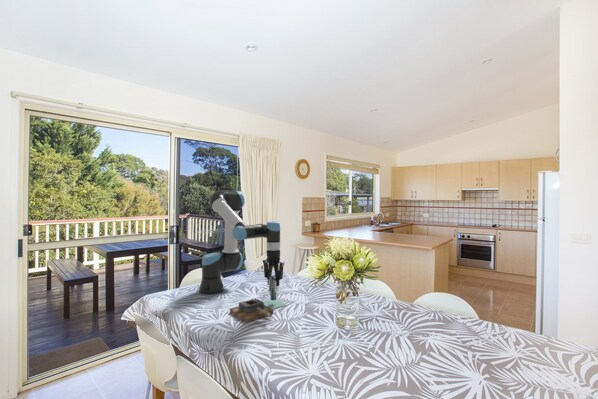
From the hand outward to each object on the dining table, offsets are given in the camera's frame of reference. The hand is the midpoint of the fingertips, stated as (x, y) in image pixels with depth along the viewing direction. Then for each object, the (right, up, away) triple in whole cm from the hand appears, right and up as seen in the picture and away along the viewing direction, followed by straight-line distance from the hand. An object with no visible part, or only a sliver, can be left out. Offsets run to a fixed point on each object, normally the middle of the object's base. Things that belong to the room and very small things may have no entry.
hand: (273, 291), depth 166 cm
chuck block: (-8, -8, -16) cm, 19 cm away
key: (0, -5, 0) cm, 5 cm away
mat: (0, -7, 0) cm, 7 cm away
